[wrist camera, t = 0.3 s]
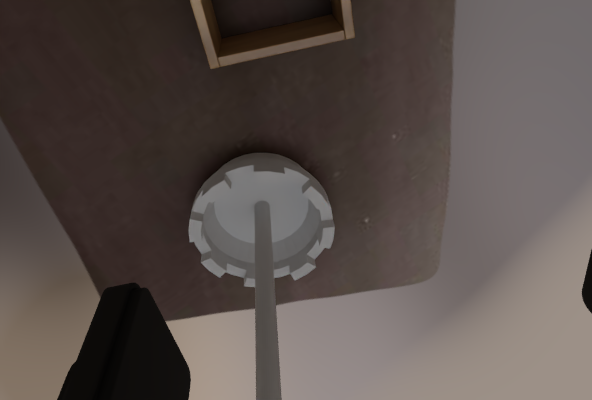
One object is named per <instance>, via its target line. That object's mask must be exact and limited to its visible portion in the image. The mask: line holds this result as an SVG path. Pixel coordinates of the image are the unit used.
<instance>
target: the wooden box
mask: <svg viewBox="0 0 592 400" xmlns="http://www.w3.org/2000/svg"><path fill="white" fill-rule="evenodd" d="M190 3H191V6H192V9H193V13H194V16H195V19H196V23H197V26H198V29H199V32H200V36H201V39H202V42H203V46H204V49H205V52H206V56H207V59H208V62H209V66H210V68H211V69H214V68H218V67H223V66H227V65H232V64H237V63H241V62H246V61H250V60H255V59H260V58H264V57H269V56H273V55H278V54H282V53H287V52H292V51H296V50H301V49H305V48H310V47H315V46H319V45H324V44H328V43H333V42H338V41H342V40H345V39H346V40H347V39H351V38H355V32H354V24H353V15H352V6H351V0H331V7H332V14H333V15H332V14H330V15H326V16H321V17H317V18H312V19H308V20H303V21H299V22H294V23H290V24H285V25H280V26H276V27H271V28H267V29H262V30H258V31H253V32H249V33H244V34H240V35H235V36H231V37H226V38H221V34H220V31H219V27H218V23H217V20H216V16H215V12H214V9H213V5H212V2H211V0H190Z"/></svg>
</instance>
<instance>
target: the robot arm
mask: <svg viewBox="0 0 592 400" xmlns="http://www.w3.org/2000/svg"><path fill="white" fill-rule="evenodd" d="M582 297H583V301H584V303H585V305H586V307H587V308H588V309H589V311H590V312H591V313H592V250H591V254H590V259H589V263H588V267H587V271H586V276H585V280H584V284H583V288H582ZM190 381H191V379H190V371H189V367H188V365H187V363H186V361H185V359H184V357H183V355H182V353H181V351H180V349H179V347H178V345H177V344H176V342H175V340H174V338H173V336H172V334H171V332H170V330H169V328H168V326H167V324H166V322H165V320H164V318H163V316H162V315H161V313H160V311H159V309H158V307H157V305H156V303H155V301H154V299H153V297H152V295H151V293H150V292H149V290H148V289H147V288H140V287H139V285H138V284H136V283H129V284H124V285H119V286H114V287H109V288H107V289H105V290H104V292H103V294H102V296H101V299H100V302H99V304H98V307H97V309H96V312H95V314H94V317H93V319H92V322H91V325H90V327H89V330H88V332H87V335H86V337H85V340H84V343H83V345H82V348H81V350H80V353H79V355H78V358H77V360H76V362H75V363H74V364H73V365H72V366H71V368H70V370H69V372H68V374H67V376H66V379H65V381H64V384H63V387H62V389H61V391H60V394H59V397H58V399H57V400H188V398H189V391H190Z"/></svg>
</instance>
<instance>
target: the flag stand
mask: <svg viewBox="0 0 592 400" xmlns="http://www.w3.org/2000/svg"><path fill="white" fill-rule="evenodd" d="M334 229H335V226H334V222H333V217H332V211H331V206H330V202H329V199H328V197H327V194H326V192H325V190H324V189H323V187H322V186H321V184H320V183H319V182H318V180H317V179H315V178H314V177H313V176H312V175H311V174H310V173H309V172H307V171H306V170H304V169H303V168H302V167H301V166H300V165H299V164H297V163H296V162H294V161H292V160H291V159H289V158H286V157H284V156H281V155H278V154H272V153H251V154H246V155H242V156H240V157H237V158H234V159H232V160H231V161H229V162H227V163H226V164H224V165H223V166H222V167H221V168H220V169H219V170H218V171H217V172H216V173H214V174H213V175H212V176H211V177H210V178H209V179H208V180H207V181H205V182H204V184H203V185H202V187H201V188H200V190H199V191H198V193H197V195H196V197H195V200H194V203H193V206H192V211H191V216H190V223H189V238H190V242H195V245H196V246H197V248H198V249H199V251H200V252H201V254H202V257H201V263H202V264H203V265H204V266H205V267H206V268H207V269H208V270H209V271H210V272H212V273H213V274H215V275H216V276H218V277H219V278H220V277H221V276H222V275H223V274H224V273H225V272H227V273H229V274H232V275H235V276H239V277H243V278H244V286H248V287H255V315H256V316H255V319H256V321H255V323H256V400H281V385H280V384H281V383H280V367H279V350H278V334H277V318H276V300H275V283H274V278H277V277H282V276H285V275H288V274H291V275H292V277H293V278H294V280H297V279H299V278H301V277H303V276H305V275H306V274H308V273H309V272H310V271H312V270H313V269H314V268H316V265H315V258H316V257H317V256H318V255H319V254H320V253H321V252H322V251H323V249H324V248H329V249H330V247H331V244H332V241H333V239H334Z"/></svg>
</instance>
